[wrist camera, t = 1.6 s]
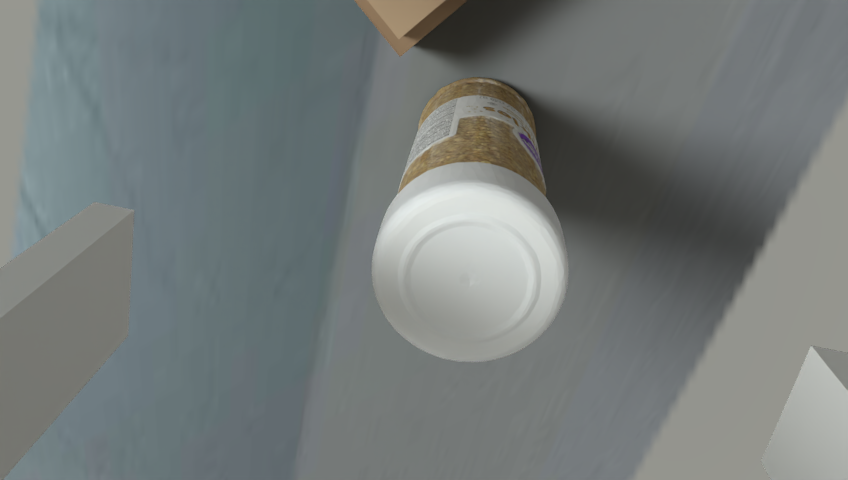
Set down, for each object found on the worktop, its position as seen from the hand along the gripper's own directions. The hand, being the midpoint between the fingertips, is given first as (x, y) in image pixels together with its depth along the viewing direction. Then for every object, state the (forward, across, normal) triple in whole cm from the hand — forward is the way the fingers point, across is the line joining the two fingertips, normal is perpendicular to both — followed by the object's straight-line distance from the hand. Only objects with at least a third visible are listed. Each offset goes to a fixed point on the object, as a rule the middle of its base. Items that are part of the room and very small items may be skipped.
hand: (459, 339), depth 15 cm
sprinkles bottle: (+16, 0, 0) cm, 16 cm away
